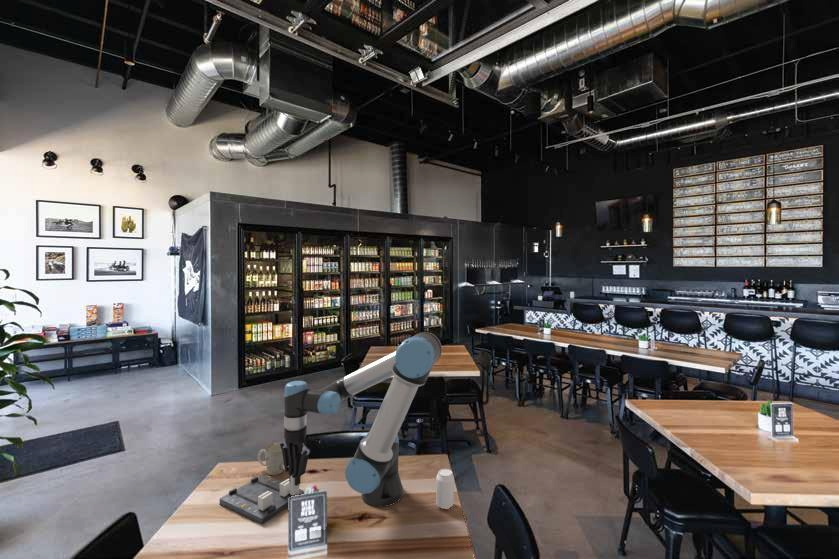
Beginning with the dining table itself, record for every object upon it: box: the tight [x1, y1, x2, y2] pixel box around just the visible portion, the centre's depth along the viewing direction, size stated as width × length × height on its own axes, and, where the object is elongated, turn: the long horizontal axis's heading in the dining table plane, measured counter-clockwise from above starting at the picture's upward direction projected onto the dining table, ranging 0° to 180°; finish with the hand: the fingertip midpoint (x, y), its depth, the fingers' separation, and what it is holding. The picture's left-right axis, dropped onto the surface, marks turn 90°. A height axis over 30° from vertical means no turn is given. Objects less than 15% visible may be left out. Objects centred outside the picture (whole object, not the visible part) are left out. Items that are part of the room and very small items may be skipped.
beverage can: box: [435, 468, 455, 508], centre depth 131 cm, size 6×6×12 cm
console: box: [219, 474, 305, 526], centre depth 134 cm, size 22×18×3 cm
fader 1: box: [258, 491, 273, 511], centre depth 127 cm, size 2×4×4 cm, turn 151°
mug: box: [256, 442, 284, 476], centre depth 154 cm, size 8×13×10 cm, turn 78°
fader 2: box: [280, 478, 290, 497], centre depth 135 cm, size 2×4×4 cm, turn 151°
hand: (294, 492), depth 133 cm, fingers closed
